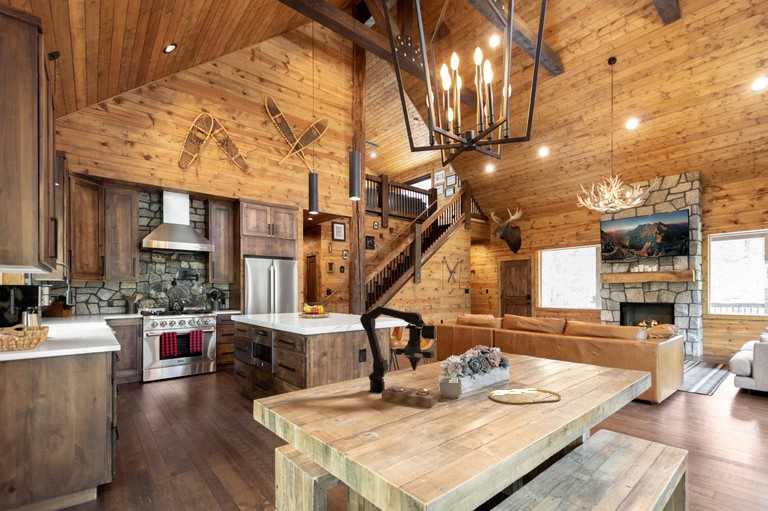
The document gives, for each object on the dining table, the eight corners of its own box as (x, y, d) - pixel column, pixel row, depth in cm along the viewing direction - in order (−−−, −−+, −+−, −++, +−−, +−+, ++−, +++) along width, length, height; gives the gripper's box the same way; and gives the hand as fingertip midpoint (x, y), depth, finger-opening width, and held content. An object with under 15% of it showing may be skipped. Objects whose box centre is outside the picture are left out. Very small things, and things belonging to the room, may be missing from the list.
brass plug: (416, 397, 174) (416, 389, 174) (419, 394, 178) (419, 387, 179) (426, 398, 172) (426, 391, 172) (429, 396, 176) (429, 388, 177)
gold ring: (481, 395, 189) (481, 391, 189) (544, 391, 196) (544, 388, 196) (501, 406, 170) (501, 403, 171) (570, 402, 178) (569, 398, 178)
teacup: (463, 400, 179) (463, 382, 179) (440, 399, 179) (440, 382, 180) (458, 391, 193) (458, 375, 193) (436, 391, 193) (436, 375, 194)
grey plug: (392, 396, 179) (392, 389, 179) (396, 394, 183) (396, 386, 184) (401, 398, 177) (401, 390, 177) (405, 395, 181) (405, 388, 182)
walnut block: (381, 400, 177) (381, 391, 178) (392, 394, 188) (392, 385, 188) (431, 407, 167) (431, 398, 167) (439, 400, 178) (439, 391, 178)
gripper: (390, 338, 186) (389, 371, 184) (426, 342, 177) (426, 376, 176) (400, 336, 195) (399, 367, 194) (434, 339, 187) (434, 371, 186)
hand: (414, 370), depth 187 cm, fingers closed
